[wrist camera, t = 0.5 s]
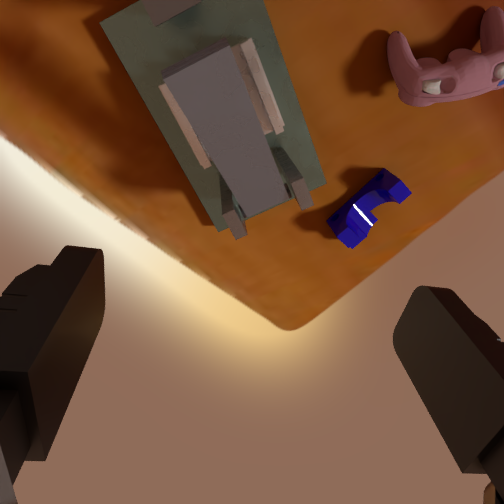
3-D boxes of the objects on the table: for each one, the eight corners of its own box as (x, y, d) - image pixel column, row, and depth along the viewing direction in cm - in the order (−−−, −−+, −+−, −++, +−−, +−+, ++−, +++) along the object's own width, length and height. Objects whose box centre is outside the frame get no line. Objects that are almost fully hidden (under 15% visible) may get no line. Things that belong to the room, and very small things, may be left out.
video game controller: (375, 78, 34) (406, 125, 30) (384, 28, 30) (420, 74, 27) (478, 52, 34) (521, 96, 30) (499, -1, 30) (552, 42, 26)
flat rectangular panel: (227, 28, 18) (235, 42, 17) (288, 188, 29) (294, 201, 29) (153, 67, 18) (157, 82, 18) (242, 210, 30) (246, 222, 29)
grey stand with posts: (241, -53, 27) (257, -97, 18) (322, 178, 37) (357, 221, 28) (104, 23, 28) (58, 16, 20) (218, 225, 38) (221, 280, 30)
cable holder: (344, 238, 41) (357, 255, 38) (325, 220, 40) (336, 237, 36) (401, 188, 39) (420, 202, 35) (383, 167, 37) (400, 179, 34)
